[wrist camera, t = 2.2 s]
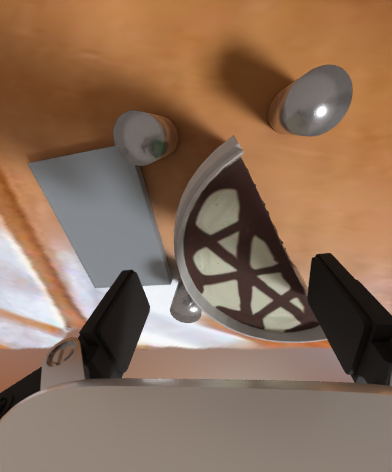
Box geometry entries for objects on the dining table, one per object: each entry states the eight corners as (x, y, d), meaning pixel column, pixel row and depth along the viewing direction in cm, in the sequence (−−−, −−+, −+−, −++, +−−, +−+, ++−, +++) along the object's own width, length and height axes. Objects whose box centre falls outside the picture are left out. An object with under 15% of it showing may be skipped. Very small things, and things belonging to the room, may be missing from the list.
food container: (167, 172, 18) (112, 215, 9) (229, 132, 15) (236, 136, 7) (230, 270, 22) (234, 364, 13) (285, 249, 20) (333, 344, 11)
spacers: (314, 80, 13) (358, 57, 9) (297, 282, 21) (315, 322, 17) (138, 119, 16) (105, 116, 11) (183, 287, 24) (174, 323, 20)
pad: (133, 142, 17) (128, 143, 16) (172, 278, 23) (170, 284, 23) (36, 161, 19) (27, 163, 18) (99, 282, 25) (94, 288, 24)
